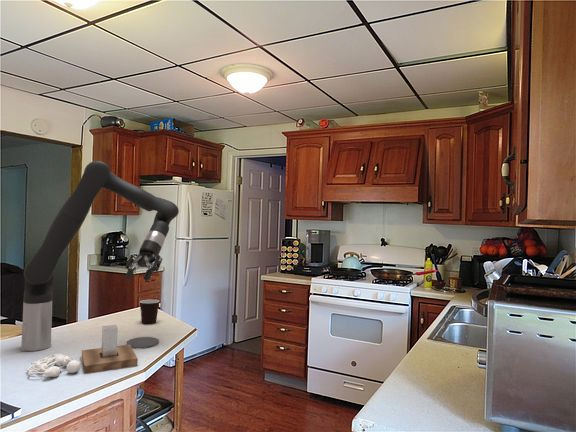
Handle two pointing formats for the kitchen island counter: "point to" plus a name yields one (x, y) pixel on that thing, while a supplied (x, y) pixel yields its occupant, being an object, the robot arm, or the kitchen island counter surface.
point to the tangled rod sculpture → (54, 370)
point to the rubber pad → (143, 342)
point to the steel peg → (109, 341)
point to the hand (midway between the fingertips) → (136, 279)
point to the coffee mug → (149, 311)
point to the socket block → (108, 359)
